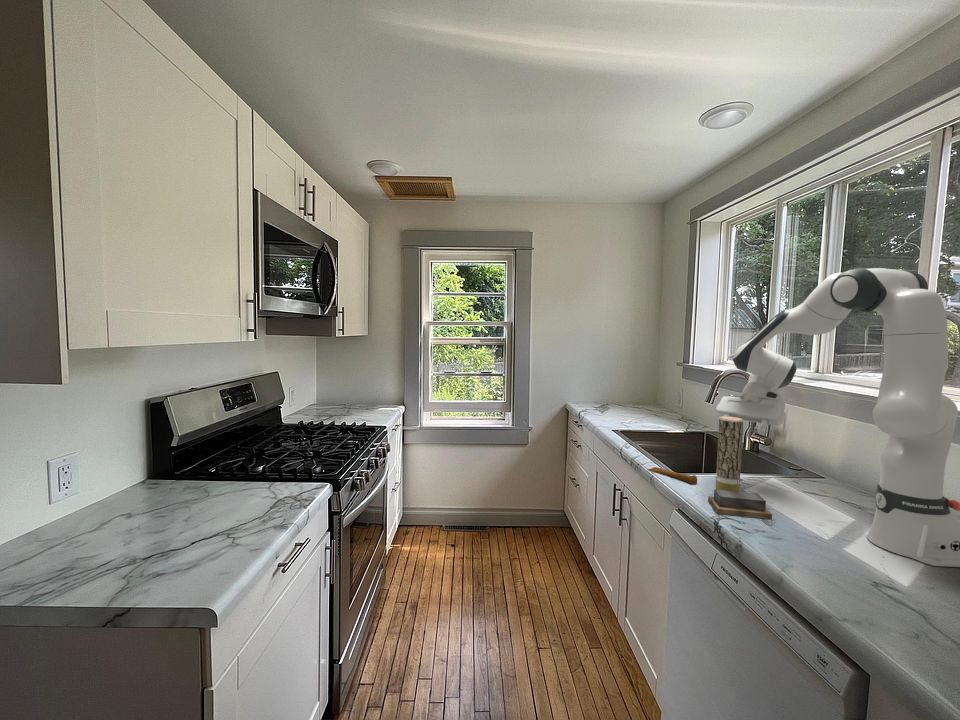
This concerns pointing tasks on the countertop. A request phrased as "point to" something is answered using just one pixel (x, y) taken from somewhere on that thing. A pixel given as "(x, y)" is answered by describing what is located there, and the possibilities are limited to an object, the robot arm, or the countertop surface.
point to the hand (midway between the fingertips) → (741, 428)
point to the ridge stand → (739, 504)
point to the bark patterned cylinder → (729, 453)
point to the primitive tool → (675, 475)
